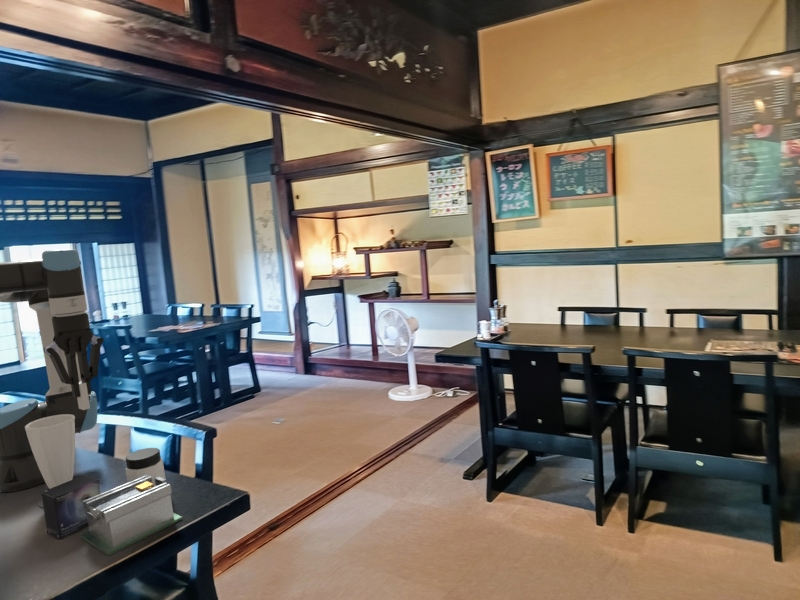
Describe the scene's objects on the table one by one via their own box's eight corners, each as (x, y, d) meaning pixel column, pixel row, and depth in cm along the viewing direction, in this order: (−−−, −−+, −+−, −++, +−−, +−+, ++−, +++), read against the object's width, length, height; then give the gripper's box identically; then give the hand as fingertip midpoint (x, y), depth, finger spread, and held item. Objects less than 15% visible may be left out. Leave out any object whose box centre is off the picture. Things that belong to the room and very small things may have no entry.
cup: (93, 494, 146) (81, 418, 144) (44, 512, 138) (30, 431, 136) (79, 484, 154) (67, 411, 152) (32, 500, 146) (19, 423, 143)
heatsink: (81, 537, 124) (75, 501, 123) (152, 505, 137) (147, 472, 136) (109, 555, 115) (102, 517, 114) (182, 519, 128) (177, 484, 127)
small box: (60, 540, 123) (52, 497, 122) (46, 534, 127) (38, 492, 126) (105, 518, 132) (99, 477, 131) (91, 513, 136) (85, 473, 135)
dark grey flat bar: (94, 521, 117) (93, 513, 117) (86, 516, 120) (84, 508, 120) (156, 491, 128) (154, 484, 128) (146, 487, 131) (145, 480, 131)
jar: (132, 508, 136) (125, 463, 135) (128, 497, 143) (121, 454, 141) (170, 497, 141) (164, 453, 139) (164, 486, 148) (158, 444, 146)
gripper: (45, 319, 122) (62, 419, 125) (105, 309, 132) (118, 402, 135) (32, 317, 126) (48, 414, 130) (91, 308, 137) (104, 398, 140)
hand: (84, 408), depth 132 cm, fingers closed
